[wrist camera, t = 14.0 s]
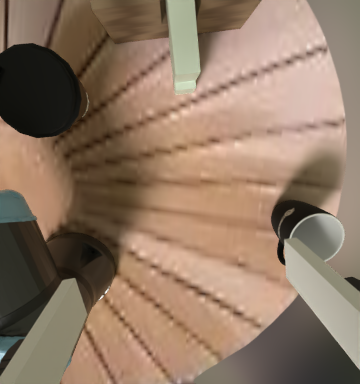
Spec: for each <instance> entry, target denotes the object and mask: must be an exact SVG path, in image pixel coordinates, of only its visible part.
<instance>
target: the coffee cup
mask: <svg viewBox="0 0 360 384" xmlns="http://www.w3.org/2000/svg"><path fill="white" fill-rule="evenodd" d="M88 106H89V99H88V94H87V92H86V91H85V89H84V87H83V86H82V84H81V82H80V81H79V80H78V79H77V77H76V75H75V74H74V72H73V70H72V69H71V67H70V65H69V64H68V63H67V62H66V61H65V60H64V59H62V58H61V57H60V56H59V55H58V54H56V53H55V52H54V51H53V50H51V49H48V48H45V47H42V46H39V45H36V44H33V43H29V44H18V45H13V46H11V47H10V48H8V49H7V50H5V51H3V52H2V53H0V116H1V118H2V119H3V120H4V121H5V122H6V123H7V124H9V125H10V126H11V127H13V128H14V129H15V130H17V131H18V132H19V133H22V134H25V135H29V136H32V137H35V138H43V137H53V136H57V135H59V134H61V133H62V132H64V131H66V130H68V129H69V128H70V127H71V126H72V124H73V123H75V122H77V121H79V120H80V119H81V118H82V117H83V116H84V115H85V114H86V112H87V111H88Z"/></svg>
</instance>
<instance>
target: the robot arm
mask: <svg viewBox="0 0 360 384" xmlns="http://www.w3.org/2000/svg"><path fill="white" fill-rule="evenodd" d="M36 220H37V218H36V216H34V215H33V214H32V212H31V210H30V208H29V206H28V204H27V202H26V200H25V199H24V197H23V196H22V195H21V194H20V193H18V192H16V191H14V190H0V384H59V383H60V381H61V378H62V376H63V374H64V372H65V370H66V368H67V367H68V366H69V365H70V363H71V359H72V355H73V353H74V350H75V348H76V345H77V343H78V340H79V338H80V336H81V333H82V331H83V328H84V326H85V323H86V321H87V318H88V316H89V313H90V311H91V309H92V307H93V306H94V305H95V304H96V302H97V301H99V300H100V299H101V298H102V297H103V296H104V295H105V294H106V293H107V291H108V290H109V288H110V286H111V284H112V281H113V278H114V275H115V263H114V259H113V257H112V255H111V253H110V251H109V250H108V249H107V248H106V247H105V246H104V245H103V244H102V243H101V242H100V241H98V240H97V239H95V238H93V237H90V236H88V235H84V234H79V233H68V234H63V235H59V236H57V237H55V238H53V239H51V240H50V241H49V242H48V243H47V244H46V242H45V240H44V237H43V235H42V233H41V230H40V228H39V226H38V224H37V221H36ZM284 246H285V264H286V278H287V279H288V280H289V281H290V283H291V284H292V285H293V286H294V288H295V289H296V290H297V292H298V293H299V294H300V295H301V297H302V298H303V299H304V300H305V302H306V303H307V304H308V305H309V307H310V308H311V309H312V310H313V312H314V313H315V314H316V315H317V317H318V318H319V319H320V320H321V322H322V323H323V324H324V325H325V327H326V328H327V329H328V331H329V332H330V333H331V334H332V336H333V337H334V338H335V339H336V341H337V342H338V343H339V344H340V346H341V347H342V348H343V349H344V351H345V352H346V353H347V354H348V356H349V357H350V358H351V359H352V361H353V362H354V363H355V364H356V366H357V367H358V368H359V369H360V280H358V279H356V278H354V277H348V278H343V277H342V276H340V275H339V274H338V273H337V272H336V271H335V270H333V269H332V268H331V267H330V266H329V265H328V264H327V263H325V262H324V261H323V260H322V259H321V258H320V257H318V256H317V255H316V254H315V253H314V252H313V251H311V250H310V249H309V248H308V247H307V246H306V245H304V244H303V243H302V242H301V241H300V240H299V239H297V238H290V239H285V240H284Z"/></svg>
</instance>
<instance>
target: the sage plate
mask: <svg viewBox="0 0 360 384" xmlns="http://www.w3.org/2000/svg"><path fill="white" fill-rule="evenodd" d="M165 2H166V11H167V19H168V28H169V49H170V58H171V66H172V75H173V84H174V92H175V95H179V94H188V93H193V92H194V90H195V89H196V79H197V77H198V76H199V74H200V72H201V71H200V59H199V48H198V36H197V24H196V13H195V1H194V0H165Z"/></svg>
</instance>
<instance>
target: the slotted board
mask: <svg viewBox="0 0 360 384" xmlns="http://www.w3.org/2000/svg"><path fill="white" fill-rule="evenodd" d="M194 1H195V13H196V24H197V34H199V33H207V32H216V31H224V30H232V29H240V28H241V27H242V26H243V24H244V23H245V22H246V20H247V19H248V18H249V16H250V15H251V14H252V12H253V11H254V10H255V8H256V7H257V6H258V4H259V3H260V2H261V0H194ZM90 4H91V9H92V11H93V13H94V14H95V15H96V17H97V18H98V20H99V21H100V23H101V24H102V26H103V27H104V28H105V30H106V31H107V33H108V34H109V36H110V37H111V39H112V40H113V41H114V43H115V44H116V43H124V42H133V41H141V40H149V39H158V38H166V37H169V28H168V19H167V11H166V2H165V0H90Z"/></svg>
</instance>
